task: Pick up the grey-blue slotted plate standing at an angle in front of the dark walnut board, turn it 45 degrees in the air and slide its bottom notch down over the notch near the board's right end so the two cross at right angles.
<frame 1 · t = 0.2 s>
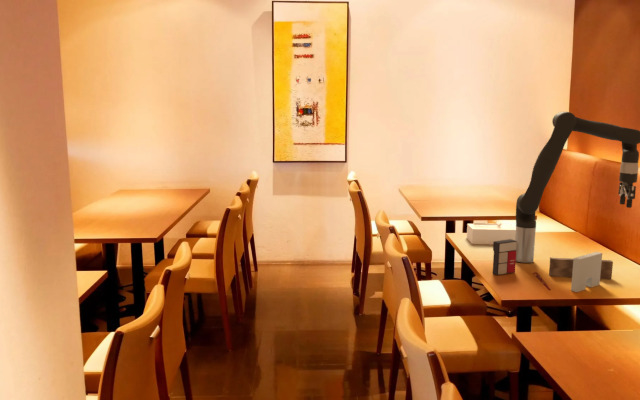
hand: (625, 205, 280), 29 cm above the table, tool pointing down, fingers open, 8 cm apart
tissue box: (491, 242, 332), on the table
walnut board: (579, 276, 265), on the table
grey red box: (503, 273, 270), on the table
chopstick: (542, 282, 258), on the table
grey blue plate: (585, 287, 250), on the table
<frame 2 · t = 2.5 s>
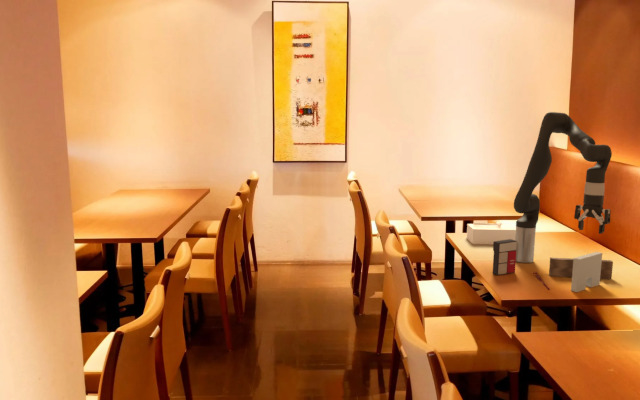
hand: (590, 231, 246), 24 cm above the table, tool pointing down, fingers open, 8 cm apart
nothing on the table moved.
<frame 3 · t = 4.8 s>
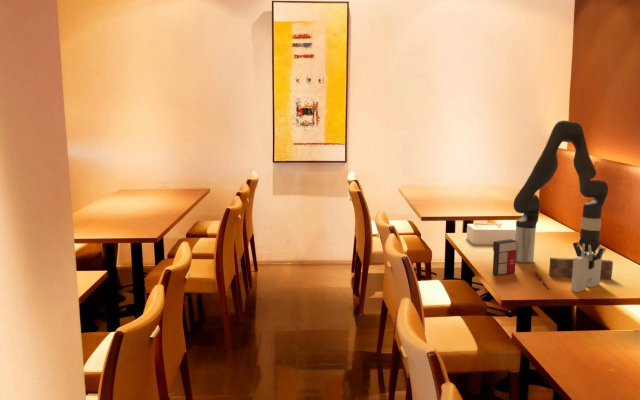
hand: (587, 267, 248), 9 cm above the table, tool pointing down, fingers closed on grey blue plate, 2 cm apart
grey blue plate: (585, 287, 250), on the table, touching gripper
everything else where it was.
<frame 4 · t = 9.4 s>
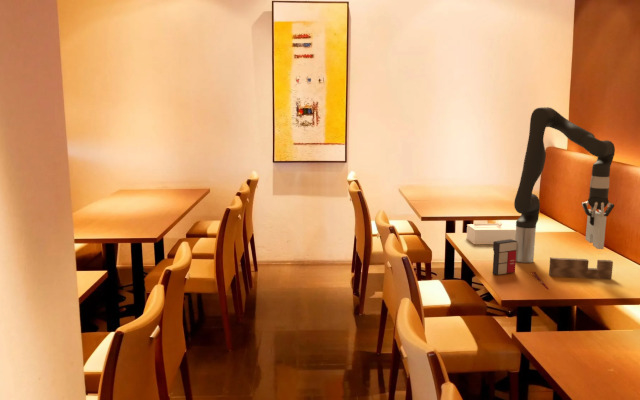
hand: (595, 225, 260), 24 cm above the table, tool pointing down, fingers closed on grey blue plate, 2 cm apart
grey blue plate: (594, 244, 262), point 15 cm above the table, touching gripper
everything else where it was.
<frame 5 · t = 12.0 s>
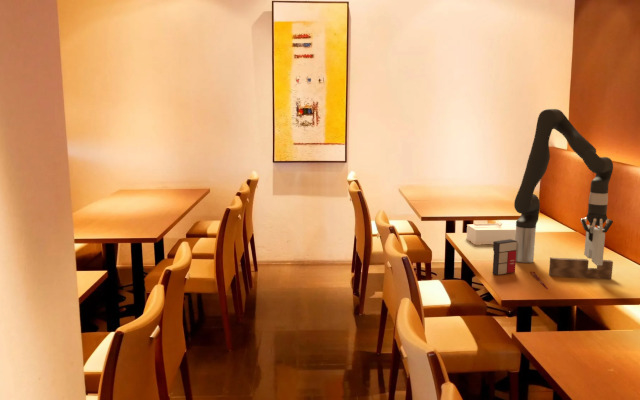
hand: (594, 241, 261), 17 cm above the table, tool pointing down, fingers closed on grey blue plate, 2 cm apart
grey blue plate: (592, 259, 263), point 8 cm above the table, touching gripper
when the fingers open (10 cm above the table, at t = 14.2 s): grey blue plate stays where it is, on the table.
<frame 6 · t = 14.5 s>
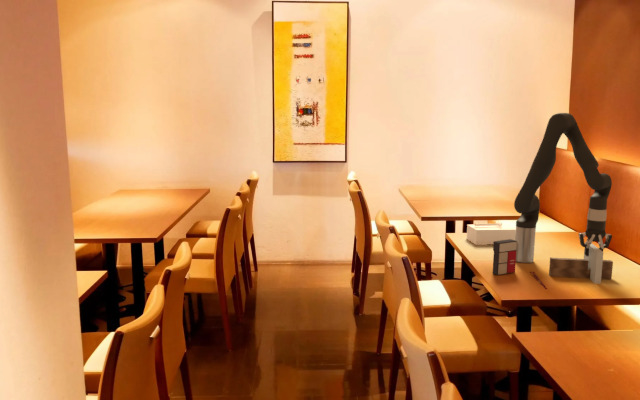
hand: (593, 256, 263), 10 cm above the table, tool pointing down, fingers open, 4 cm apart
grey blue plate: (591, 277, 264), on the table
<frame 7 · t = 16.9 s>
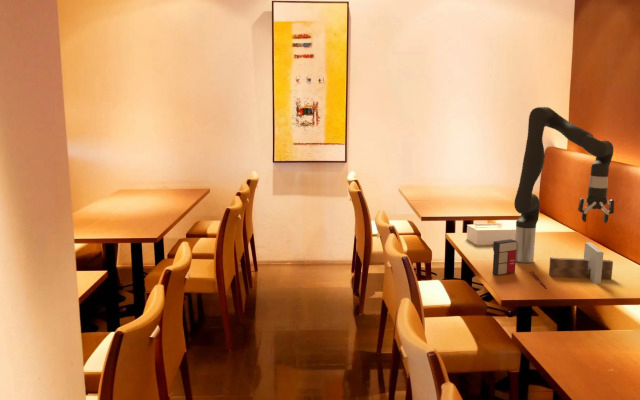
hand: (594, 222, 262), 25 cm above the table, tool pointing down, fingers open, 8 cm apart
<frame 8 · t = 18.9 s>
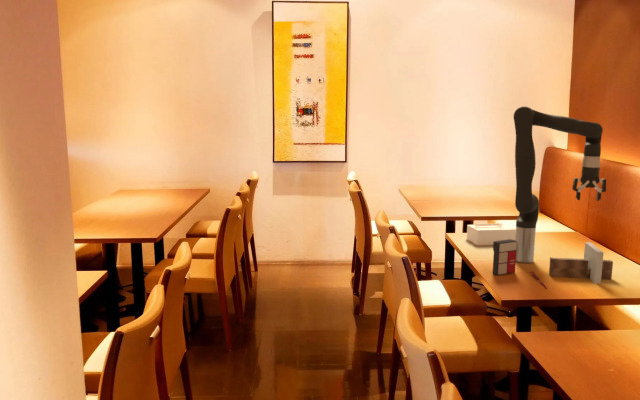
hand: (588, 200, 276), 32 cm above the table, tool pointing down, fingers open, 8 cm apart
at the end: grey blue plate 0.1 cm from the target spot on the walnut board, point 0.0 cm above the walnut board's base; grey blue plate tilted 0°; the gripper is holding nothing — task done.
